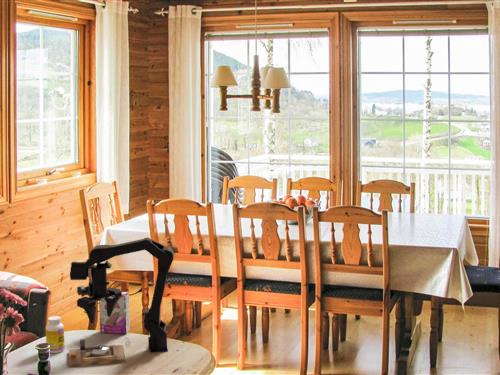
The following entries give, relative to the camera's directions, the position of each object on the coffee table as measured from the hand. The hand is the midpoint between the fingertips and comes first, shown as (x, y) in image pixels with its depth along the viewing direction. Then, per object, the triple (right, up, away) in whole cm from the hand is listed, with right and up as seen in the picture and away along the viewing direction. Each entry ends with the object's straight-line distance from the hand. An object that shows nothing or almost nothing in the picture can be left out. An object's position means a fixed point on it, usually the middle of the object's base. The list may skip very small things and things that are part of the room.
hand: (100, 319), depth 291 cm
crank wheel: (-1, -12, -7) cm, 14 cm away
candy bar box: (+2, -9, +22) cm, 24 cm away
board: (0, -13, -5) cm, 14 cm away
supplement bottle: (-17, -12, +2) cm, 21 cm away
